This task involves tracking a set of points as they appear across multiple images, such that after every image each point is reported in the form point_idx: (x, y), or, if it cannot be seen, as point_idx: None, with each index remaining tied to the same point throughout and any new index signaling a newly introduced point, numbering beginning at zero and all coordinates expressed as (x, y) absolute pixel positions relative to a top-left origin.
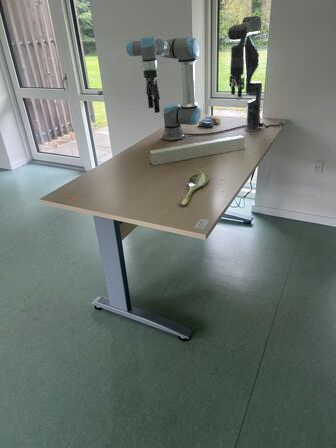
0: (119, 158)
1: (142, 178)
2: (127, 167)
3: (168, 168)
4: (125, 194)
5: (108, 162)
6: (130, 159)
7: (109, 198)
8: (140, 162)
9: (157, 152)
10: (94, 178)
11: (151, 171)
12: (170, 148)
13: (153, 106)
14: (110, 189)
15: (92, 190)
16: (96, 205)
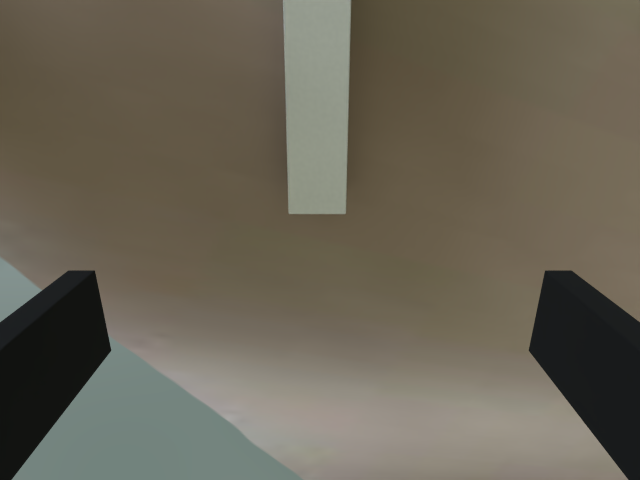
0: (142, 333)
1: (483, 283)
2: (299, 319)
3: (433, 122)
4: None
5: (182, 387)
6: (183, 285)
7: None
8: (256, 246)
9: (345, 175)
10: (359, 456)
11: (421, 222)
12: (310, 56)
13: (83, 281)
14: (513, 418)
15: (478, 472)
16: (616, 471)
